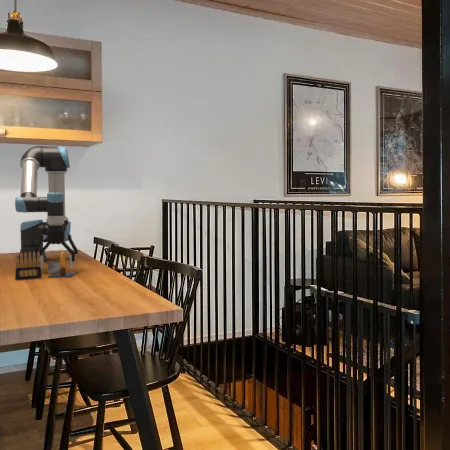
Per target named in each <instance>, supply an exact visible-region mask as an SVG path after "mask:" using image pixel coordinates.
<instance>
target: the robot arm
mask: <svg viewBox="0 0 450 450" xmlns="http://www.w3.org/2000/svg"><path fill="white" fill-rule="evenodd" d="M70 165H71V164H70V159H69V153H68V149H67V148H66V147H65V146H59V145H57V146H55V145H52V146H51V145H49V146H47V145H35V146H32V147H30V148H29V149H27V150H26V151H25V152H24V153H23V154H22V156H21V158H20V164H19V166H20V169H21V178H20V179H21V180H20V196H17V197H15V200H14V205H15V206H14V207H15V211H16V213H24V214H25V213H46V215H47V217H46V221H44V220H43V219H35V220H27V221H23V222H21V223H20V228H19V229H20V230H19V231H20V250H19V252H18V253H19V254H18V256H19V264H20V254H21V252H22V254H23V262H24V255H25V252H26V253H27V260H28V258H29V252H31V258H32V261H33V252H35V255H36V263H37V253H38V251H39V253H40V261H41V270H44V266H45V264H44V263H45V262H47V261H48V258H47V254H46V250H47V249H48V248H49V246H50V245H60V244H61V245H62V246H63V248H65V250H66V251H67V252H68V253H69V254H70V255H69V270H72V269H74V268H73V265H74V264H73V263H74V262H75V260H76V259H75V257H76V256H75V255H77V254H79V249H78V247H77V245H76V244H75V243H74V241H73V238H72V234H71V228H72V227H71V225H72V222H71V221H69V218H68V217H67V216H66V191H65V190H66V186H65V185H66V184H65V179H66V178H65V174H66V173H67V172H68V169H70ZM40 168H44V170H45V172H46V173H47V175H48V177H47V178H48V179H47V180H48V185H47V186H48V192H47V193H46V196H37V195H38V170H39V169H40ZM67 242H69V244H70V246H71V247H70V246H69V244H67ZM44 243H45V245H44Z"/></svg>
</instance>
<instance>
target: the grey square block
mask: <svg viewBox="0 0 450 450" xmlns="http://www.w3.org/2000/svg"><path fill="white" fill-rule="evenodd" d="M55 272H60V260H51V261H50V262H47V273H48V274H53V273H55Z"/></svg>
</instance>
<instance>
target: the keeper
mask: <svg viewBox="0 0 450 450" xmlns="http://www.w3.org/2000/svg"><path fill="white" fill-rule="evenodd" d="M59 261H60V272H55V273H50V274H49V275H48V277H47V278H49V279H52V278H53V279H54V278H57V279H58V278H72V277H73V276H75V275H76V274H77V273H78V272H77V271H67V270H66V267H67V266H66V252H64V251H61V252H60V253H59Z"/></svg>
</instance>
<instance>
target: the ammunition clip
mask: <svg viewBox="0 0 450 450" xmlns="http://www.w3.org/2000/svg"><path fill="white" fill-rule="evenodd" d="M18 253H19V252H16V254H15V262H14V263H15V265H14V266H15V269H14V270H15V275H14V279H15V280H16V281H18V280H19V281H20V280H30V279H31V280H32V279H42V278H43V277H42V269H41V261H40V253H39V251H38V253H37V266H36V255H35V252H33V261H32V258H31V252H29V258H28V260H27V253H26V252H25V255H24V262H23V254H22V252H21V254H20V263H19V254H18ZM32 266H33V267H32ZM32 270H33V275H32Z"/></svg>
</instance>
